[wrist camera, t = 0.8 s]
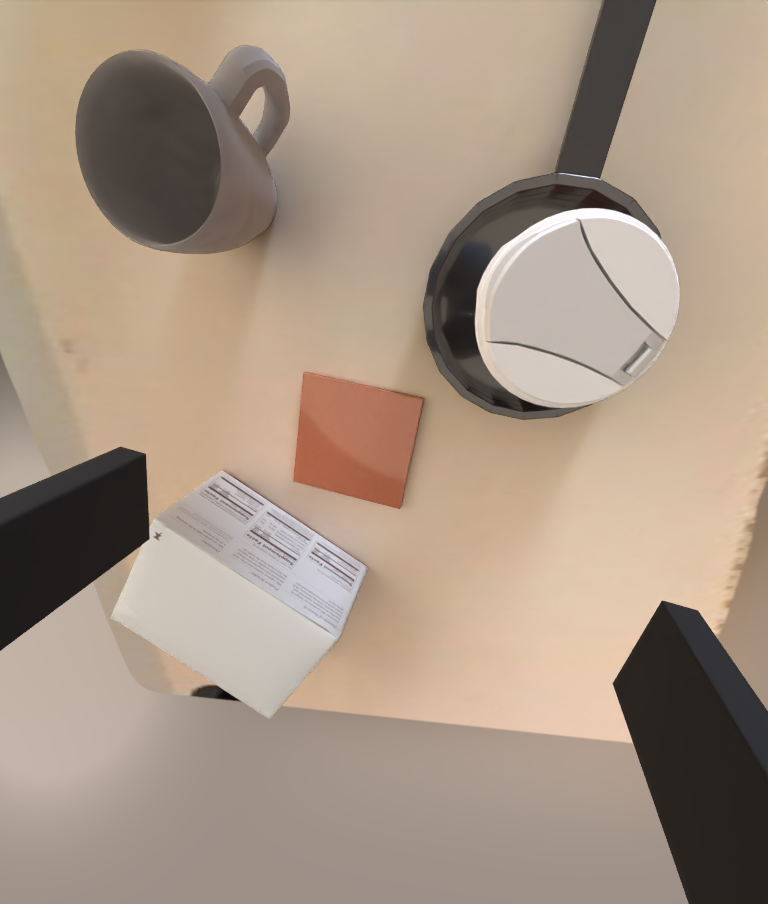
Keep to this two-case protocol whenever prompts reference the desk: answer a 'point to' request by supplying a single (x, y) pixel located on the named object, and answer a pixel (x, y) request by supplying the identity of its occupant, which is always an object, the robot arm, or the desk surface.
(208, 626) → the supplement box
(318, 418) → the coaster
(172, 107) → the mug
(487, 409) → the pan
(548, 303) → the paper cup
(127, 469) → the robot arm
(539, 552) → the desk surface
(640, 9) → the pan handle
